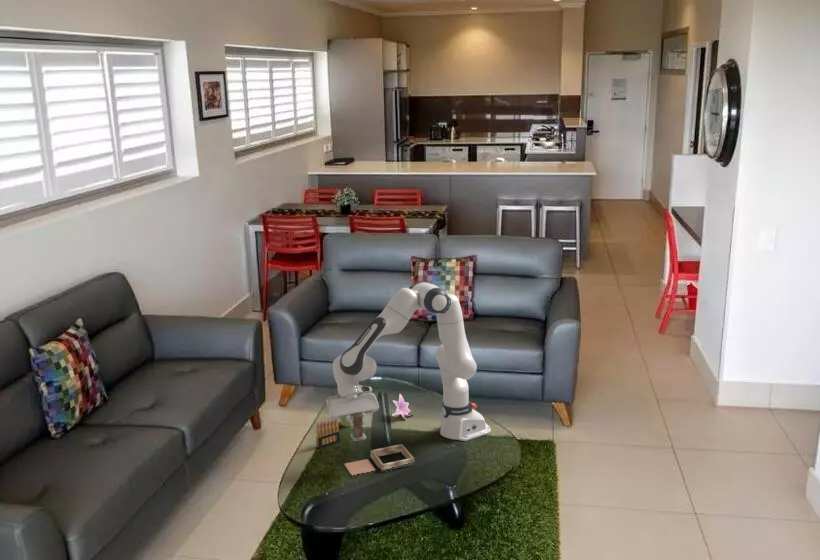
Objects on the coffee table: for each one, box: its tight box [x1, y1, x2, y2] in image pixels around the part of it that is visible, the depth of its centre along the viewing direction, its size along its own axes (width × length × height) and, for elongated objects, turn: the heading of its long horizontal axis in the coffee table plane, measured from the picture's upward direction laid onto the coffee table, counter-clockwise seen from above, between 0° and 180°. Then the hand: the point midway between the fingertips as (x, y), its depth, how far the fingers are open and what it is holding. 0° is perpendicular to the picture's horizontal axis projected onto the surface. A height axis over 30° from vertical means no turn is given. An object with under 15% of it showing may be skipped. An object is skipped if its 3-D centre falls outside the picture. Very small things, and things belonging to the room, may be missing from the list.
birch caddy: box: [370, 443, 416, 471], centre depth 304 cm, size 14×14×3 cm
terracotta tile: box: [344, 458, 376, 477], centre depth 299 cm, size 10×10×1 cm
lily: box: [392, 393, 411, 418], centre depth 345 cm, size 12×12×10 cm
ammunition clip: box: [315, 418, 341, 449], centre depth 318 cm, size 11×2×12 cm, turn 126°
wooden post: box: [350, 413, 367, 442], centre depth 295 cm, size 5×5×10 cm
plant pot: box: [340, 416, 354, 428], centre depth 338 cm, size 9×9×9 cm
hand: (358, 425), depth 295 cm, fingers closed on wooden post, 2 cm apart
